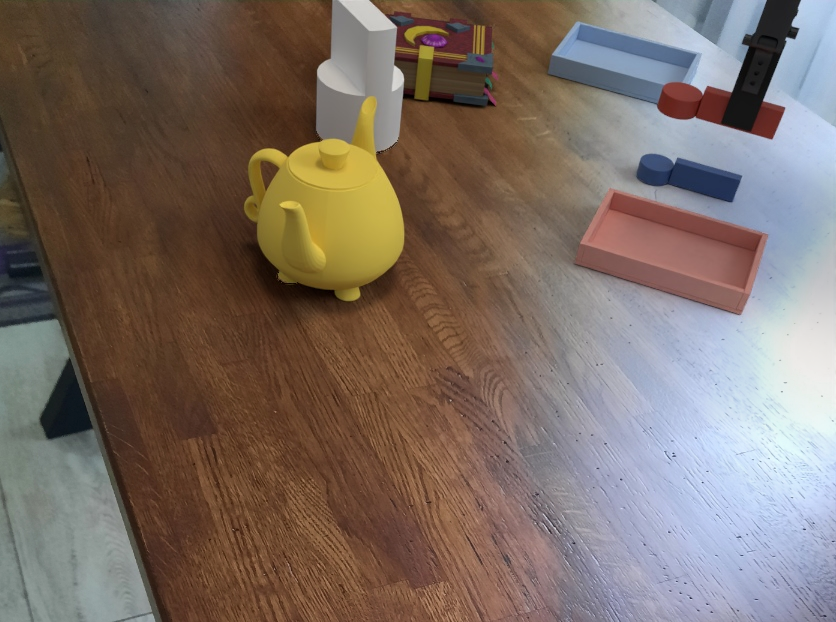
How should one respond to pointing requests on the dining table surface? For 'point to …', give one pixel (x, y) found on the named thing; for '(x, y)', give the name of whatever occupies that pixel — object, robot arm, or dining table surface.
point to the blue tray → (621, 62)
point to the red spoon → (713, 107)
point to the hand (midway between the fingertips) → (738, 121)
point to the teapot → (328, 212)
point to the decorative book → (444, 58)
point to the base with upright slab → (359, 74)
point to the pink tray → (673, 250)
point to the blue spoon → (688, 176)
